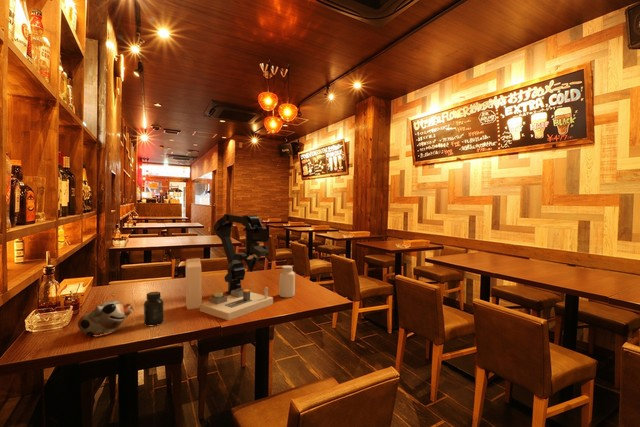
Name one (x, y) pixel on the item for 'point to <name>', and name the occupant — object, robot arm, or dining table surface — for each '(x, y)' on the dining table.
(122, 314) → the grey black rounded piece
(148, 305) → the supplement bottle
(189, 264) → the milk
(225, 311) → the console
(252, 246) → the robot arm
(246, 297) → the slider
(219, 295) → the pale yellow button
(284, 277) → the pill bottle
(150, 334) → the dining table surface
